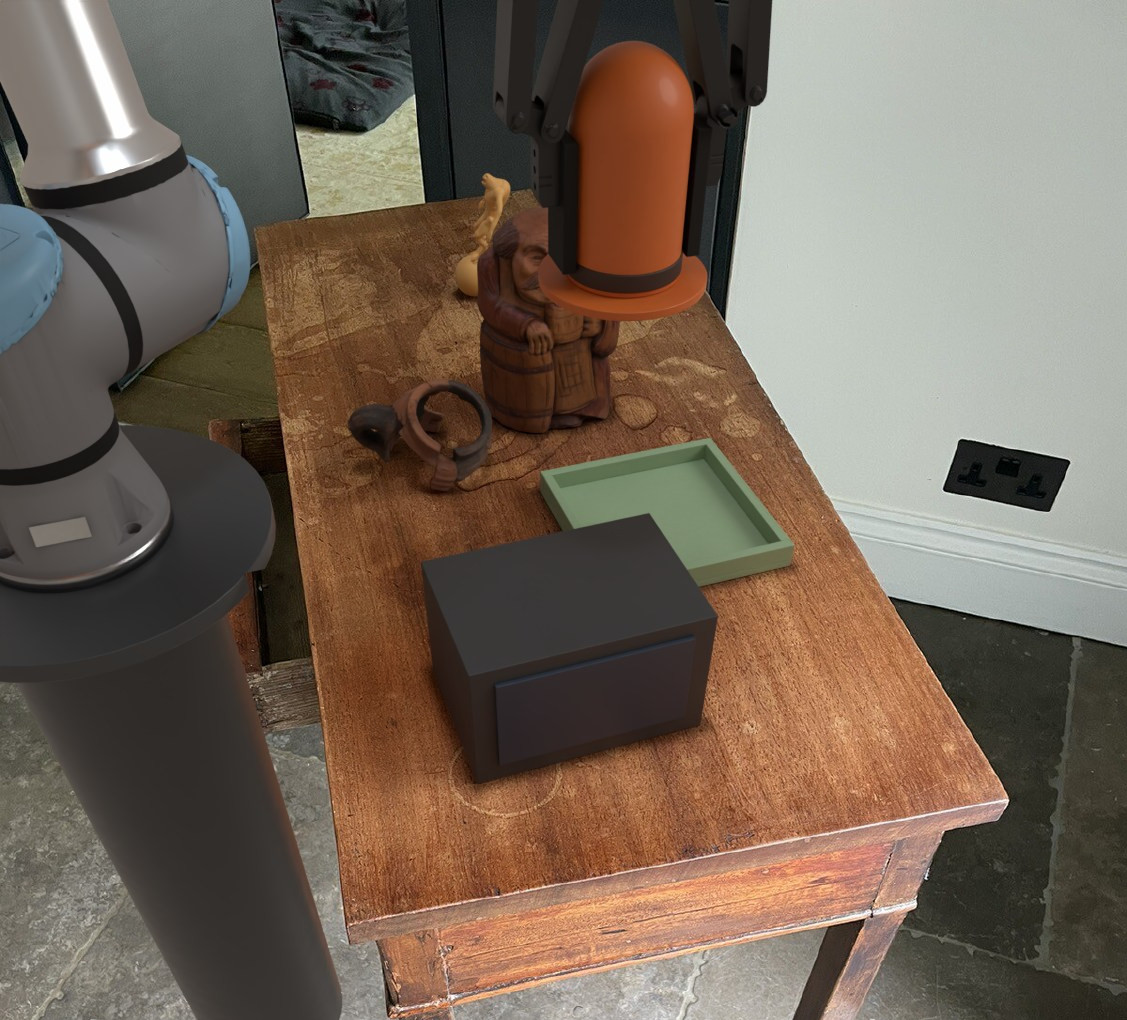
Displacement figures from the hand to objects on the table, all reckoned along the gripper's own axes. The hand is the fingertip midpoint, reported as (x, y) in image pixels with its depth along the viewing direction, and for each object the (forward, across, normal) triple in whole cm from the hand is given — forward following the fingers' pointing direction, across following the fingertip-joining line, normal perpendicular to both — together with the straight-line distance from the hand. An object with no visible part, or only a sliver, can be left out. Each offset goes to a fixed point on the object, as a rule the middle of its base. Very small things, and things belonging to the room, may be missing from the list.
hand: (623, 253), depth 60 cm
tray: (+27, +8, +9) cm, 30 cm away
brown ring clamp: (+27, -8, +23) cm, 37 cm away
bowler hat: (+1, 0, 0) cm, 1 cm away
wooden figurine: (+27, +4, +28) cm, 39 cm away
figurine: (+27, +5, +52) cm, 59 cm away
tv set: (+27, -6, -7) cm, 29 cm away
